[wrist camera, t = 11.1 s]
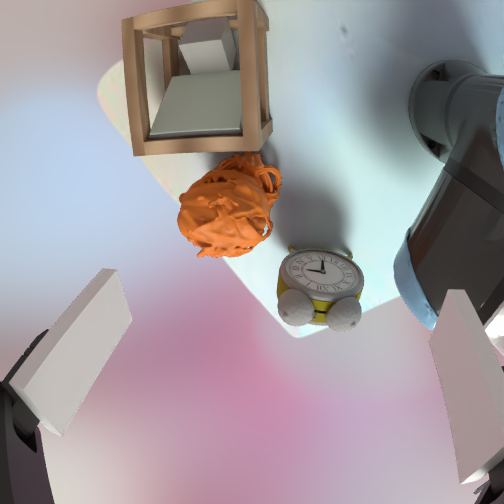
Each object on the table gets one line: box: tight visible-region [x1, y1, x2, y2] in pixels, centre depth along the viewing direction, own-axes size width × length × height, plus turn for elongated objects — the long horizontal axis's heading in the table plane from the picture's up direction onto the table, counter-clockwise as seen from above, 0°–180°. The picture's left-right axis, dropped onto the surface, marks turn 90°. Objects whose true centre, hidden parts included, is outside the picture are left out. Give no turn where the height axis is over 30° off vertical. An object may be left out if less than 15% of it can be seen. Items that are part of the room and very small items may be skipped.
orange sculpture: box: [177, 151, 282, 258], centre depth 38 cm, size 11×11×18 cm
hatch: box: [148, 70, 243, 139], centre depth 34 cm, size 10×10×1 cm
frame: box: [122, 0, 273, 156], centre depth 34 cm, size 14×16×12 cm
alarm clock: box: [277, 246, 364, 332], centre depth 44 cm, size 12×7×15 cm, turn 87°
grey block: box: [179, 17, 236, 74], centre depth 34 cm, size 5×5×6 cm
